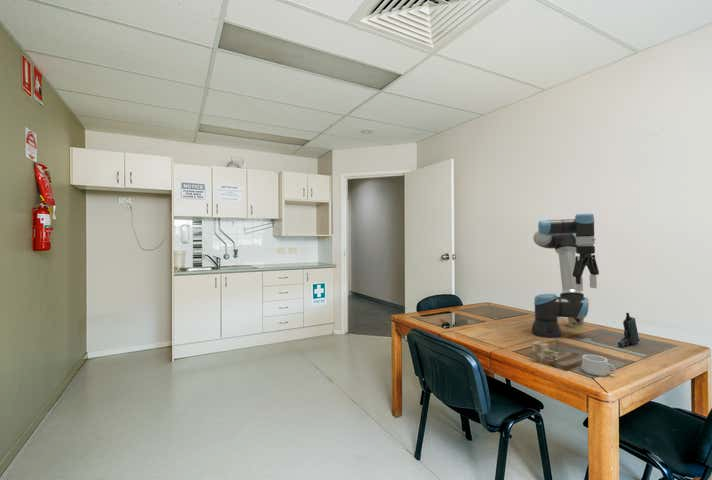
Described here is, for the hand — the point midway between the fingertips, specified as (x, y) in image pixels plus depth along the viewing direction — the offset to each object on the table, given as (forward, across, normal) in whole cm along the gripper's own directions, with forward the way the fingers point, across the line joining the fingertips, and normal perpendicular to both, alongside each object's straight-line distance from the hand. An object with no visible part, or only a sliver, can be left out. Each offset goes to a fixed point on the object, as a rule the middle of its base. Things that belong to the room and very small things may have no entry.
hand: (586, 289), depth 159 cm
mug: (+32, -19, -12) cm, 39 cm away
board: (+32, -18, +1) cm, 36 cm away
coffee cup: (+32, +48, +28) cm, 64 cm away
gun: (+32, +31, -5) cm, 45 cm away
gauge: (+32, -25, +6) cm, 41 cm away
